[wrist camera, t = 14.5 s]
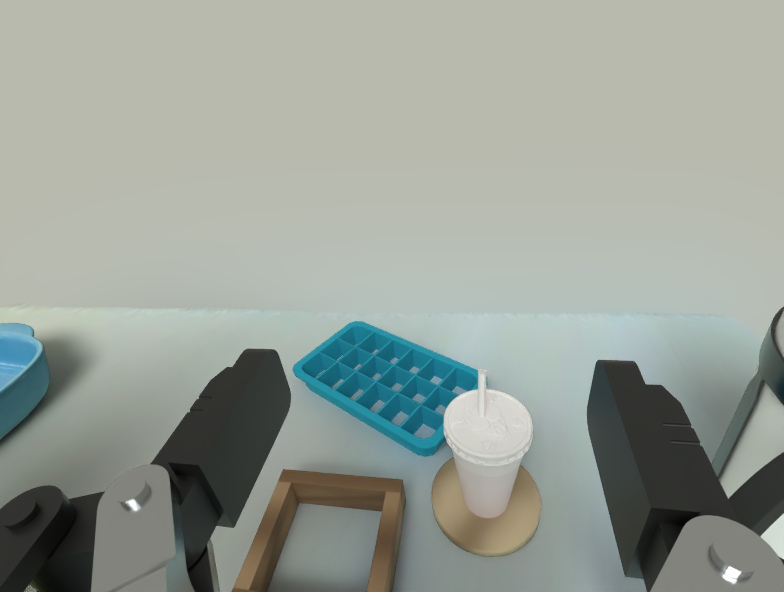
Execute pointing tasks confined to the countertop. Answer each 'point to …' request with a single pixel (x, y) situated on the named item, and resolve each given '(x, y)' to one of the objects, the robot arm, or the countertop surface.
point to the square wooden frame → (331, 493)
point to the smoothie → (487, 445)
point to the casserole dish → (20, 374)
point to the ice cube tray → (386, 382)
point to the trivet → (486, 532)
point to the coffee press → (758, 446)
